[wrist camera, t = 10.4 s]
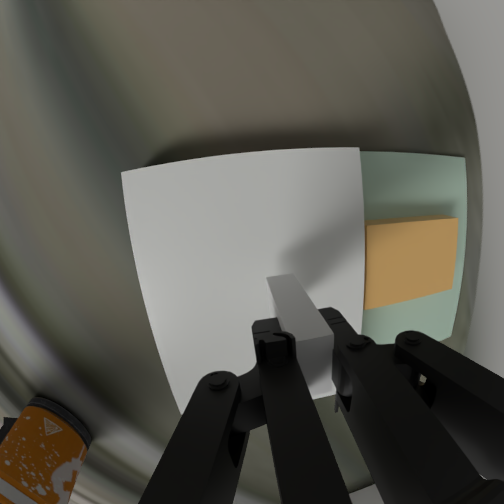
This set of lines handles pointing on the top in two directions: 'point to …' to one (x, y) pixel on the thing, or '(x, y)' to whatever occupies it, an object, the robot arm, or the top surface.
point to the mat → (409, 205)
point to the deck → (242, 249)
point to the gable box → (366, 496)
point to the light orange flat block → (408, 258)
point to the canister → (41, 454)
